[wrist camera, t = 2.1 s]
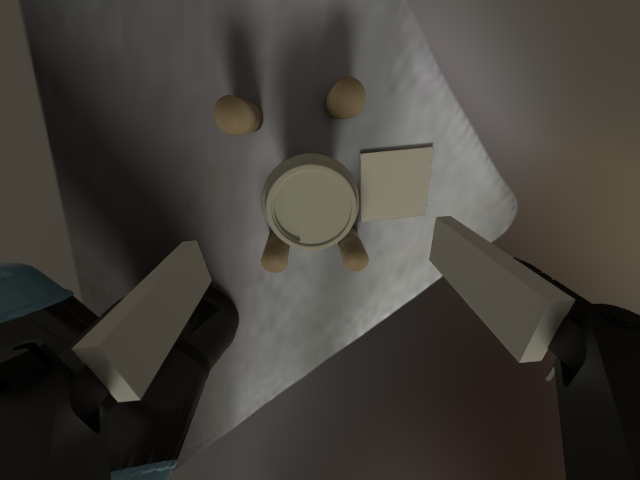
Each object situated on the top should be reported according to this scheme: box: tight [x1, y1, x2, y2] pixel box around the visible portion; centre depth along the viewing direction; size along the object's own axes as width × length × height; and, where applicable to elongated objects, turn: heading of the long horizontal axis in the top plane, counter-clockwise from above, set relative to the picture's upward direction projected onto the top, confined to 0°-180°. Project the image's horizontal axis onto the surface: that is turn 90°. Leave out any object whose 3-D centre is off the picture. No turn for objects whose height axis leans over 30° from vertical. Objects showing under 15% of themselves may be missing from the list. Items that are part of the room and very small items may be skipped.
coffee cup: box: [263, 153, 359, 251], centre depth 24 cm, size 9×9×12 cm
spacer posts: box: [214, 77, 369, 273], centre depth 26 cm, size 14×20×7 cm
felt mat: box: [360, 147, 434, 222], centre depth 30 cm, size 9×9×1 cm
